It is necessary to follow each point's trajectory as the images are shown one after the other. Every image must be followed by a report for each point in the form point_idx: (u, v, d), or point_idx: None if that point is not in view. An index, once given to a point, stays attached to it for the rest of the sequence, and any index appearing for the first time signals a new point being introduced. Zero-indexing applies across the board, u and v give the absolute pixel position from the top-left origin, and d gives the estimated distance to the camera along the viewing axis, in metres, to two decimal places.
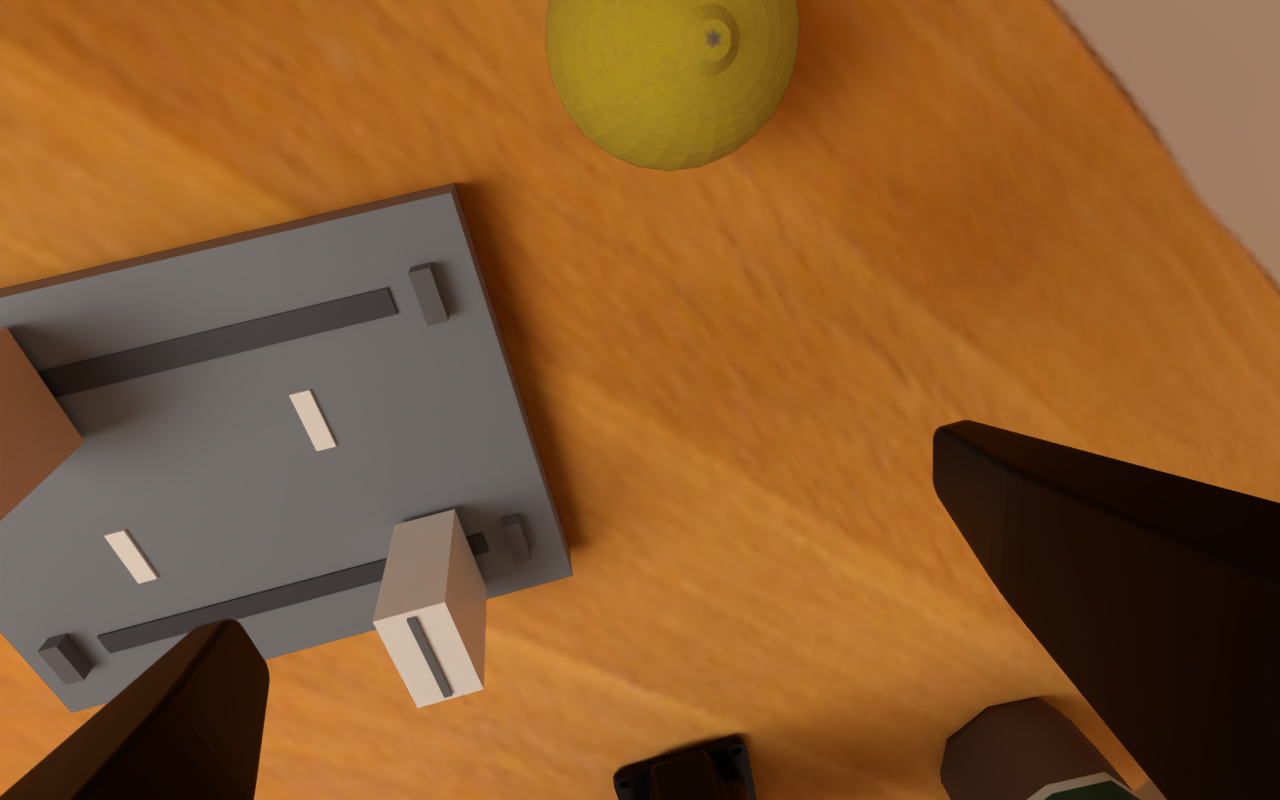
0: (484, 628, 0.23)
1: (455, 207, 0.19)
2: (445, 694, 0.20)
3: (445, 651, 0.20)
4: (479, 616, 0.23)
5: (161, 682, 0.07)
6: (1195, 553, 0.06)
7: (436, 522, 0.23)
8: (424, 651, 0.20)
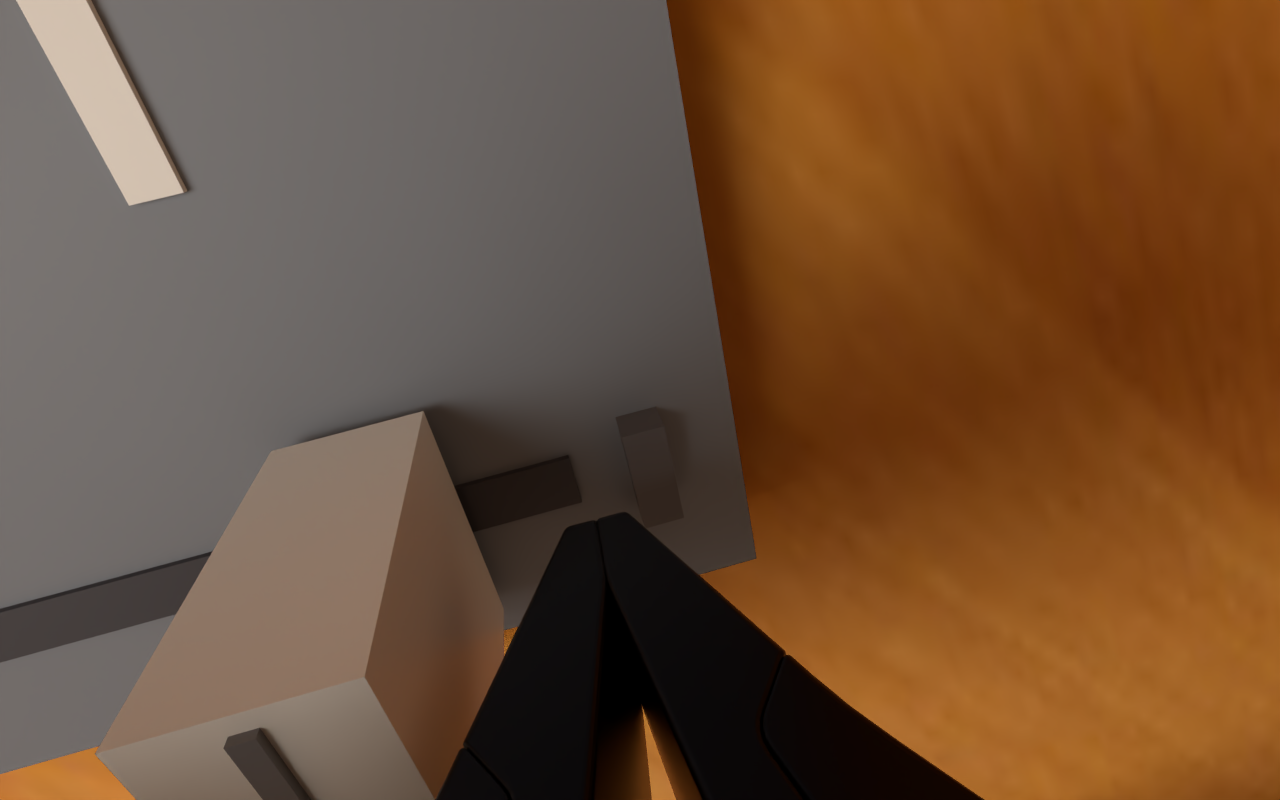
0: None
1: None
2: None
3: None
4: (489, 684, 0.09)
5: (583, 567, 0.07)
6: (666, 705, 0.05)
7: (374, 440, 0.09)
8: None
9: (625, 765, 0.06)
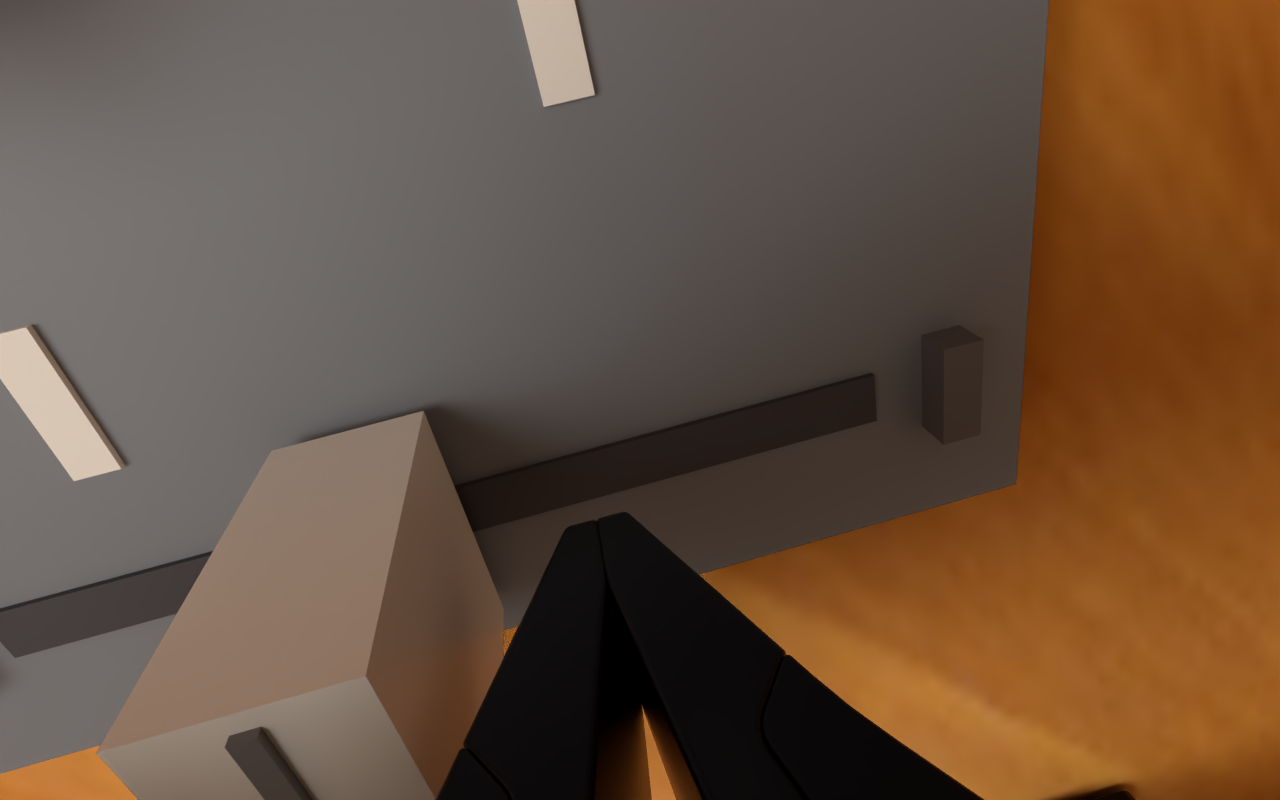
0: None
1: None
2: None
3: None
4: (488, 684, 0.09)
5: (583, 567, 0.07)
6: (665, 706, 0.05)
7: (375, 440, 0.09)
8: None
9: (625, 765, 0.06)
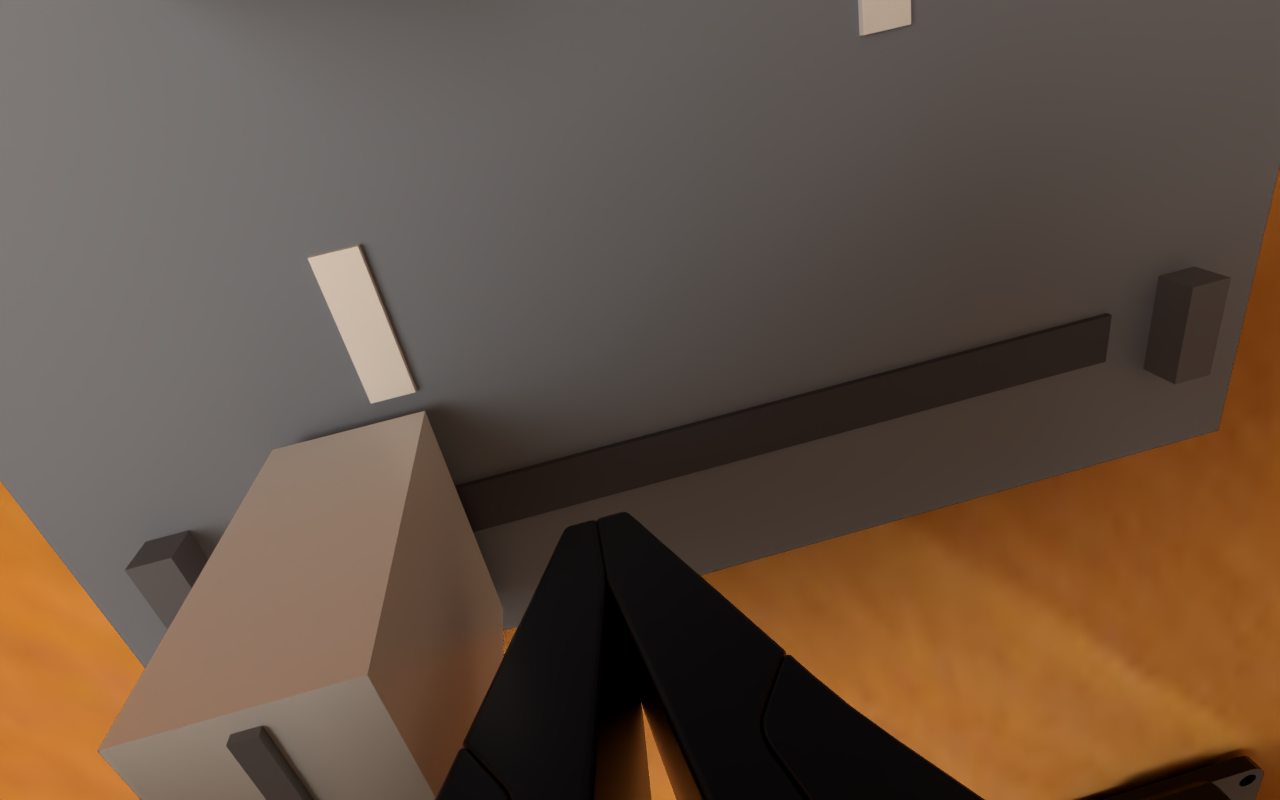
0: None
1: None
2: None
3: None
4: (488, 684, 0.09)
5: (583, 567, 0.07)
6: (666, 706, 0.05)
7: (376, 439, 0.09)
8: None
9: (625, 765, 0.06)
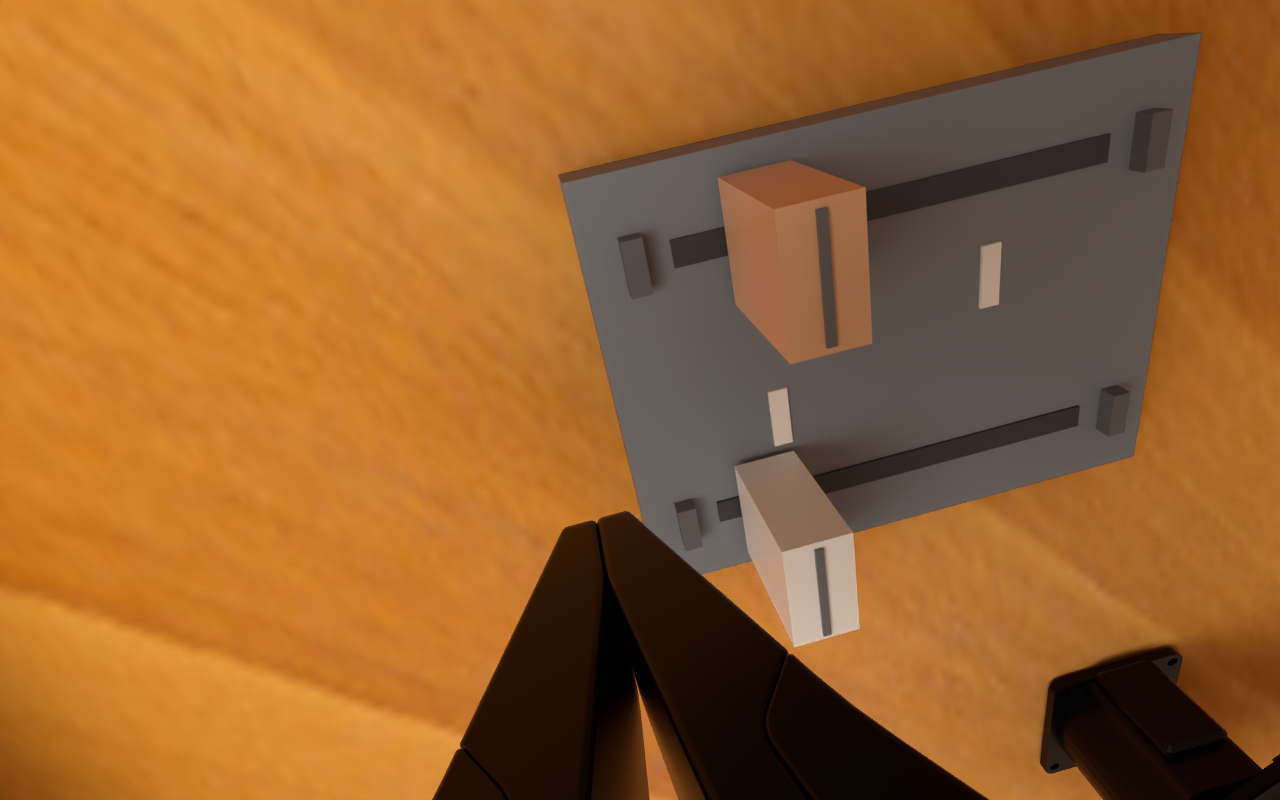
0: None
1: (1195, 49, 0.19)
2: (826, 632, 0.20)
3: (837, 586, 0.19)
4: None
5: (581, 567, 0.07)
6: (668, 705, 0.05)
7: (782, 462, 0.22)
8: (820, 585, 0.19)
9: (623, 766, 0.06)
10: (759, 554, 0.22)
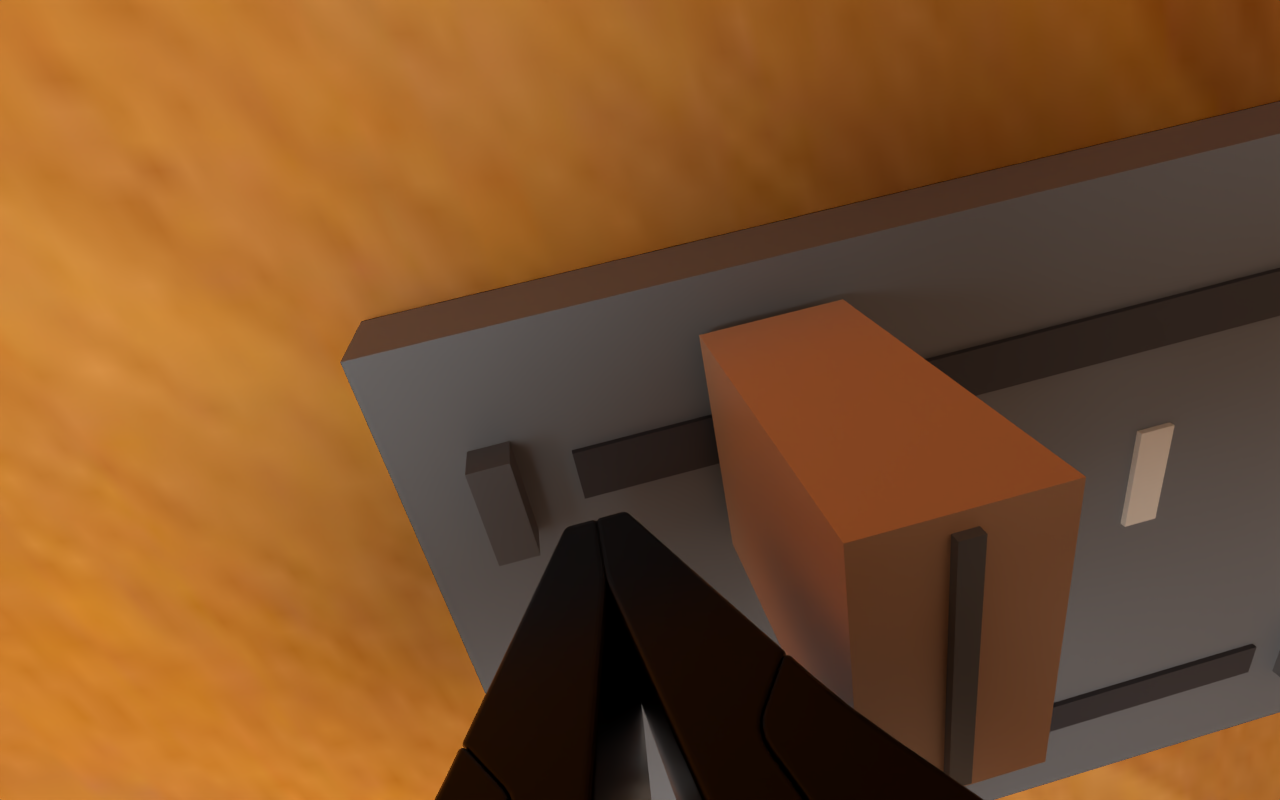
0: None
1: None
2: None
3: None
4: None
5: (583, 567, 0.07)
6: (665, 706, 0.05)
7: None
8: None
9: (625, 765, 0.06)
10: None
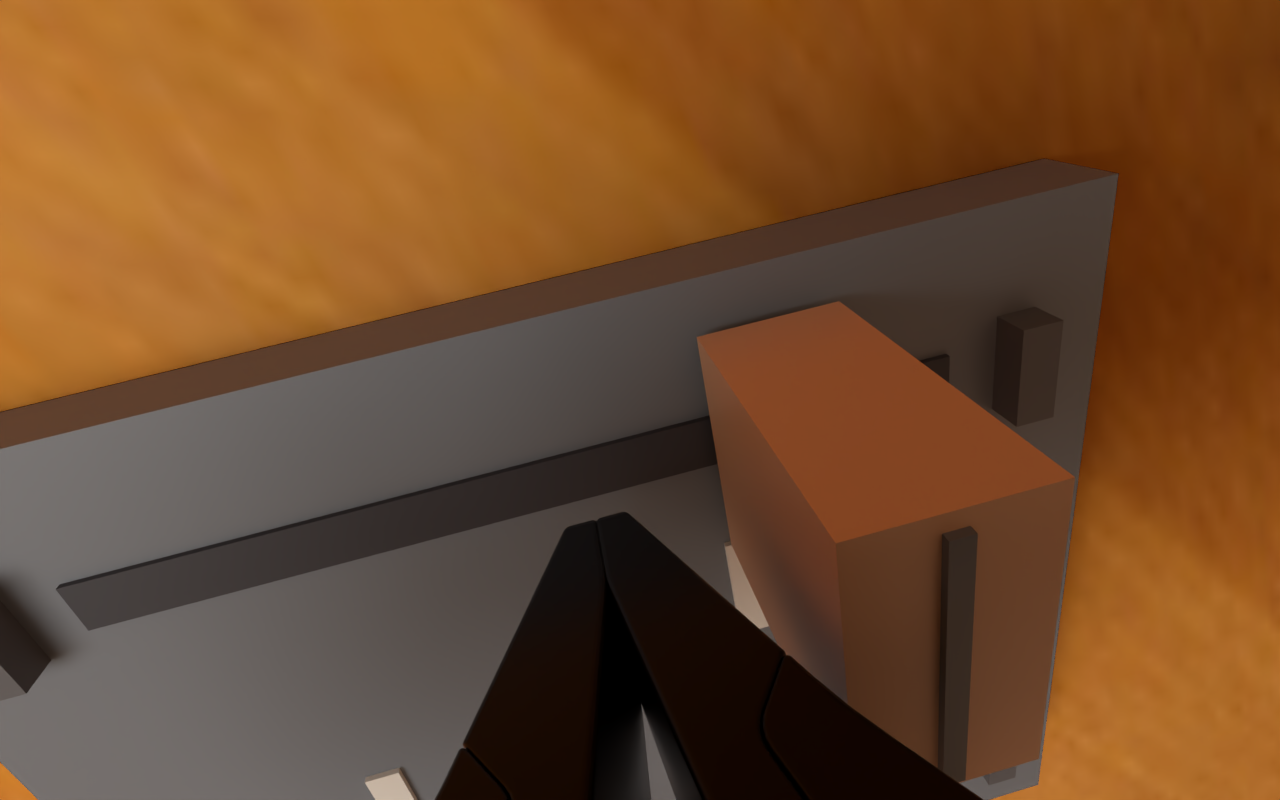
0: None
1: (1108, 203, 0.10)
2: None
3: None
4: None
5: (583, 567, 0.07)
6: (665, 706, 0.05)
7: None
8: None
9: (625, 765, 0.06)
10: None
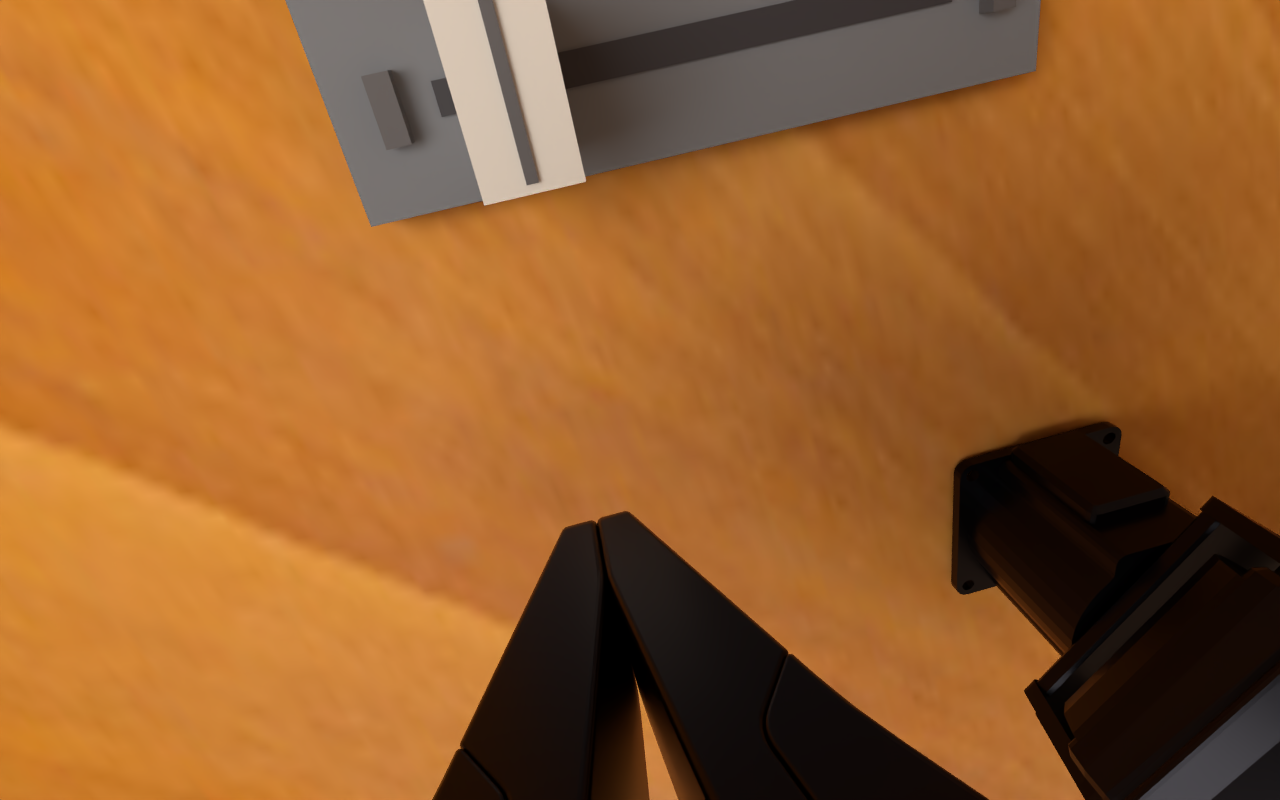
0: None
1: None
2: (528, 177, 0.13)
3: (532, 83, 0.12)
4: None
5: (581, 567, 0.07)
6: (668, 705, 0.05)
7: None
8: (501, 73, 0.12)
9: (622, 765, 0.06)
10: None
